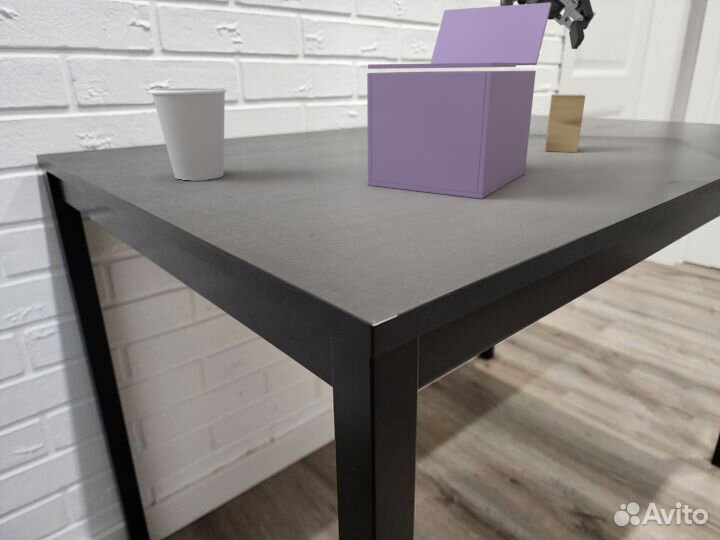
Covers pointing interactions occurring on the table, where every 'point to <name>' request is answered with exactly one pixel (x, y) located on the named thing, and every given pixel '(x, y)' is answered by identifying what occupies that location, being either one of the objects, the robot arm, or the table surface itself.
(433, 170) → the box
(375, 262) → the table surface
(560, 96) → the block
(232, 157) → the table surface
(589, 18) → the robot arm
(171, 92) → the dixie cup
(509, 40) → the box lid
